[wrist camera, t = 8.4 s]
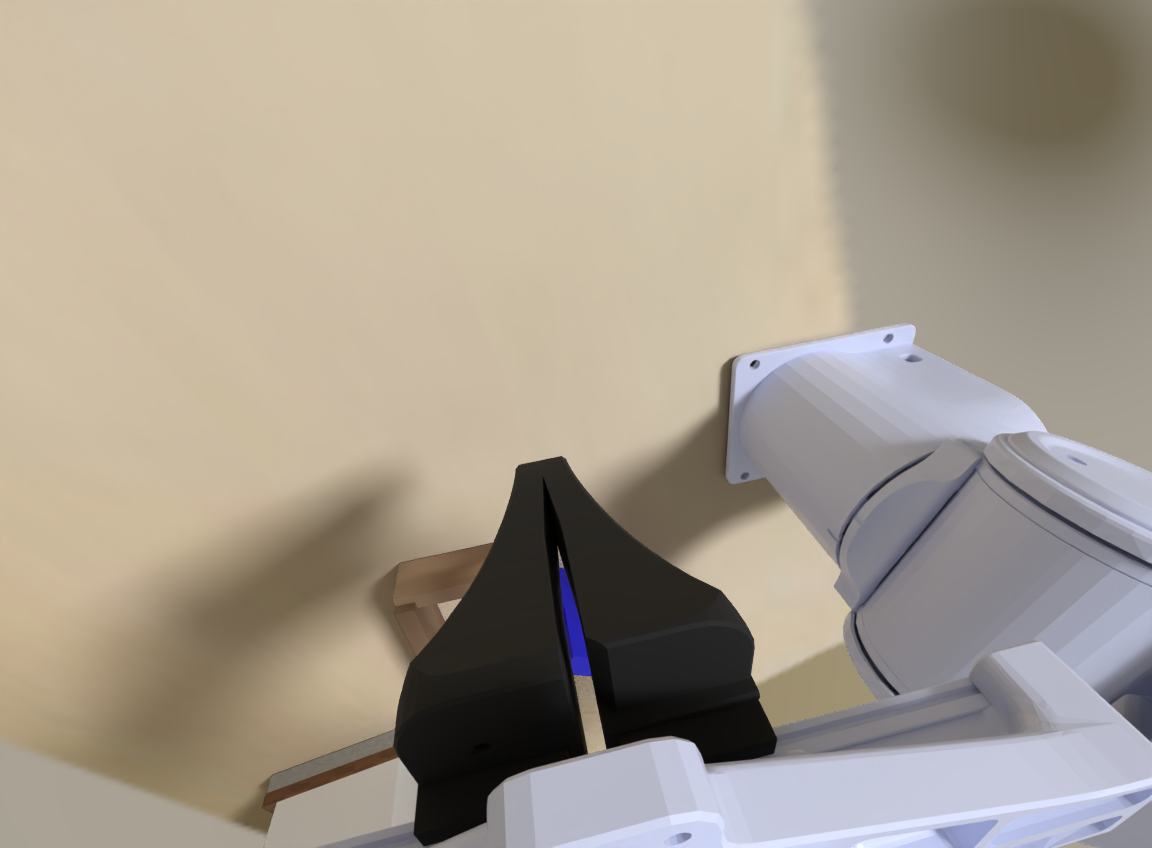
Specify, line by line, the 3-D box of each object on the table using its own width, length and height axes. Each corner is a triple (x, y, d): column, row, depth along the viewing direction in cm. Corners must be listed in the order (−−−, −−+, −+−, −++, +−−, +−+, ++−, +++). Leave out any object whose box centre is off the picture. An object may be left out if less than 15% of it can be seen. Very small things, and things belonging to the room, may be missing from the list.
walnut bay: (522, 536, 27) (526, 578, 25) (565, 699, 37) (571, 740, 35) (399, 563, 27) (390, 608, 24) (475, 721, 37) (475, 765, 34)
